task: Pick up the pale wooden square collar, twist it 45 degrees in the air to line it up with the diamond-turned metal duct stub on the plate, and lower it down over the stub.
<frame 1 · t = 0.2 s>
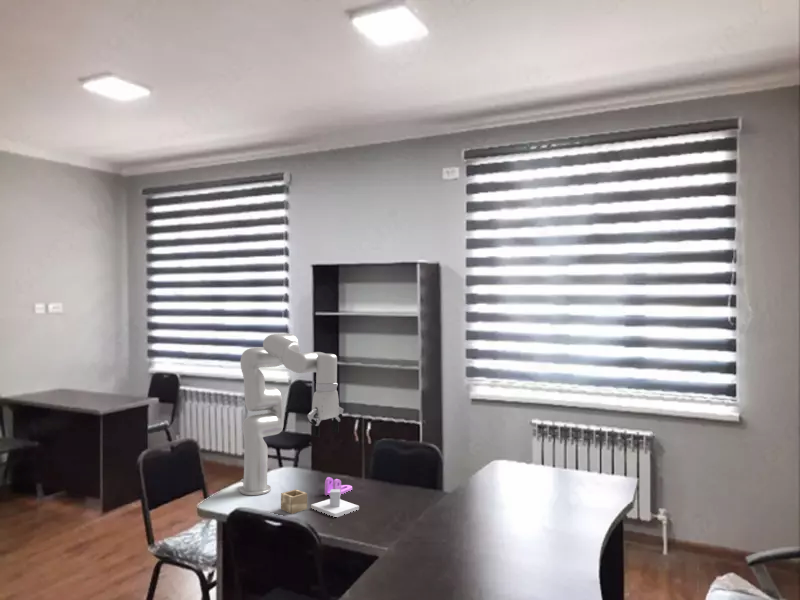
hand: (325, 434, 207), 30 cm above the table, tool pointing down, fingers open, 9 cm apart
wooden collar: (293, 509, 215), on the table
bracket: (339, 493, 236), on the table
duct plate: (334, 509, 216), on the table
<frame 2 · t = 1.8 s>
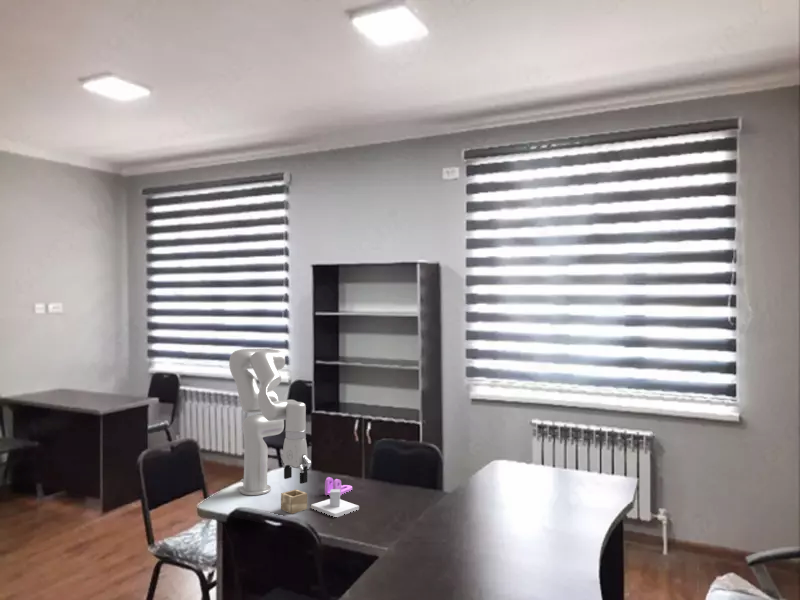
hand: (295, 480, 215), 11 cm above the table, tool pointing down, fingers open, 9 cm apart
nothing on the table moved.
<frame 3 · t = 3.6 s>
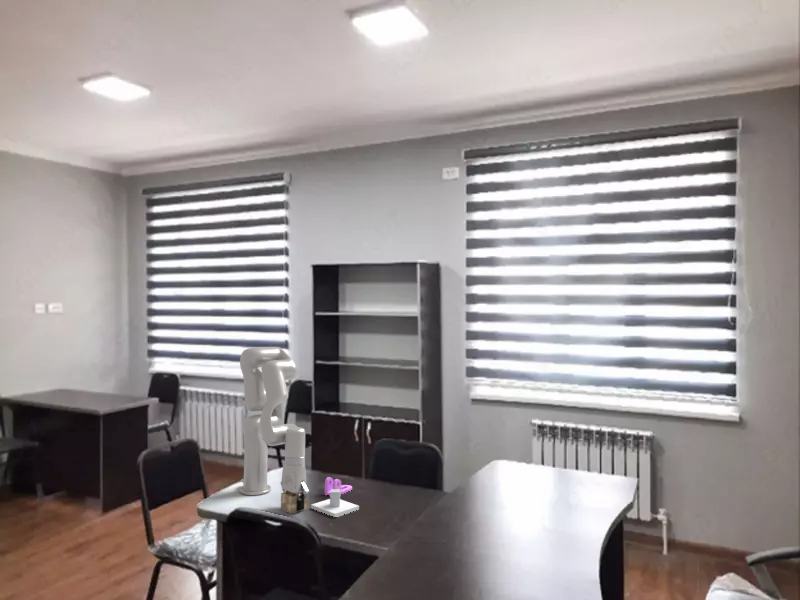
hand: (294, 507, 215), 1 cm above the table, tool pointing down, fingers closed on wooden collar, 7 cm apart
wooden collar: (293, 509, 215), on the table, touching gripper
everything else where it was.
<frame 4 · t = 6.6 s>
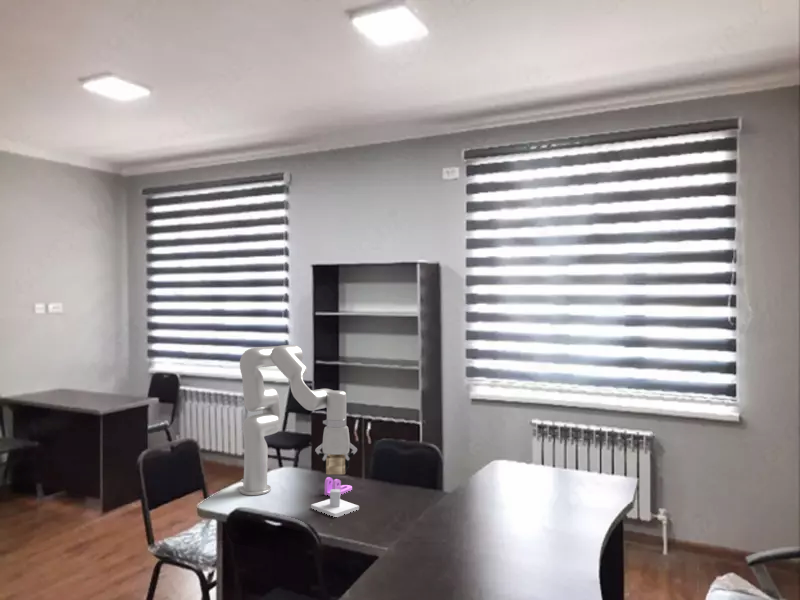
hand: (336, 469, 216), 15 cm above the table, tool pointing down, fingers closed on wooden collar, 7 cm apart
wooden collar: (336, 471, 216), point 14 cm above the table, touching gripper
everything else where it was.
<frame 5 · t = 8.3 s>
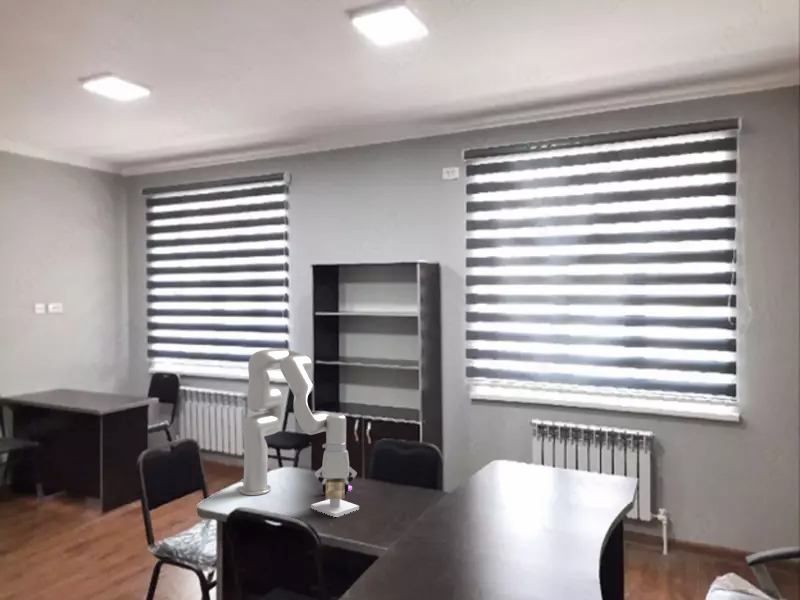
hand: (335, 493, 216), 6 cm above the table, tool pointing down, fingers closed on wooden collar, 7 cm apart
wooden collar: (335, 495, 216), point 5 cm above the table, touching gripper
everything else where it was.
when the fingers open (4 cm above the table, at t = 9.8 s): wooden collar drops 1 cm, resting on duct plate.
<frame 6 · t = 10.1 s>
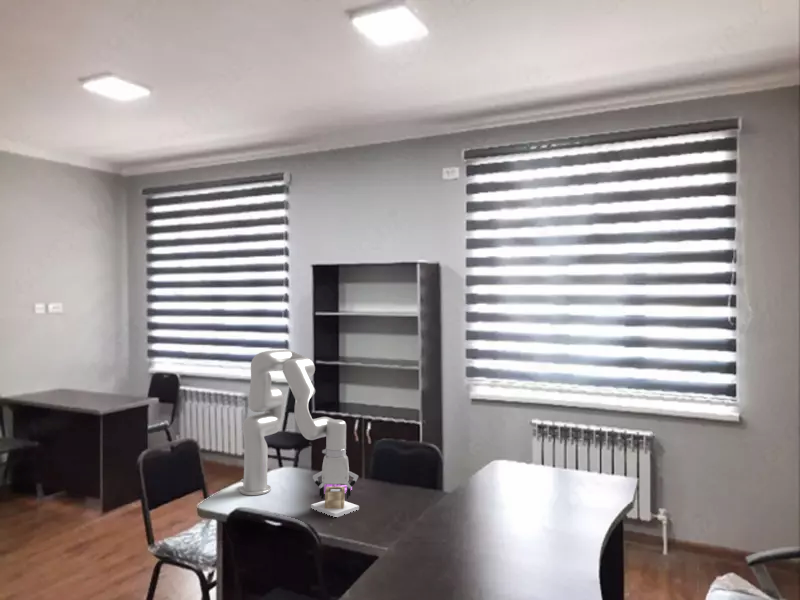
hand: (335, 497, 216), 4 cm above the table, tool pointing down, fingers open, 9 cm apart
wooden collar: (334, 505, 216), point 1 cm above the table, touching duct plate
everything else where it was.
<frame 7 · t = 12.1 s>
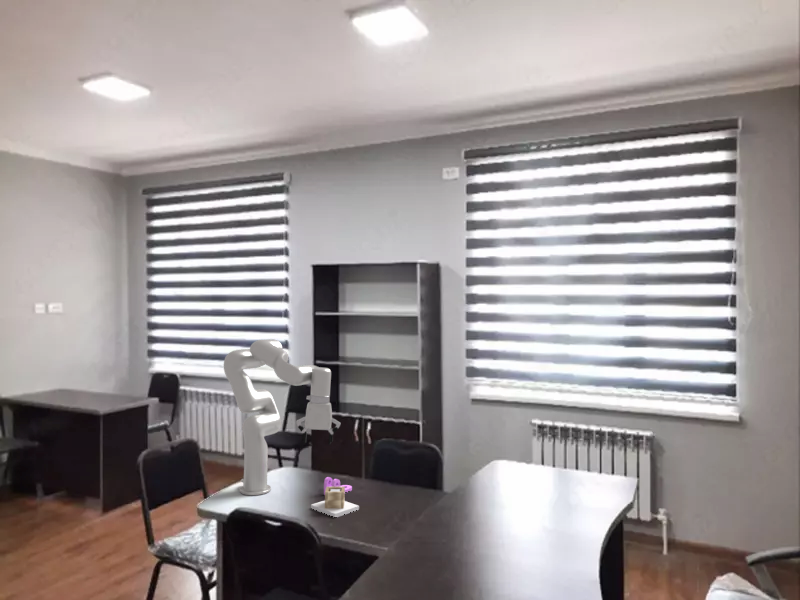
hand: (317, 443, 221), 24 cm above the table, tool pointing down, fingers open, 9 cm apart
nothing on the table moved.
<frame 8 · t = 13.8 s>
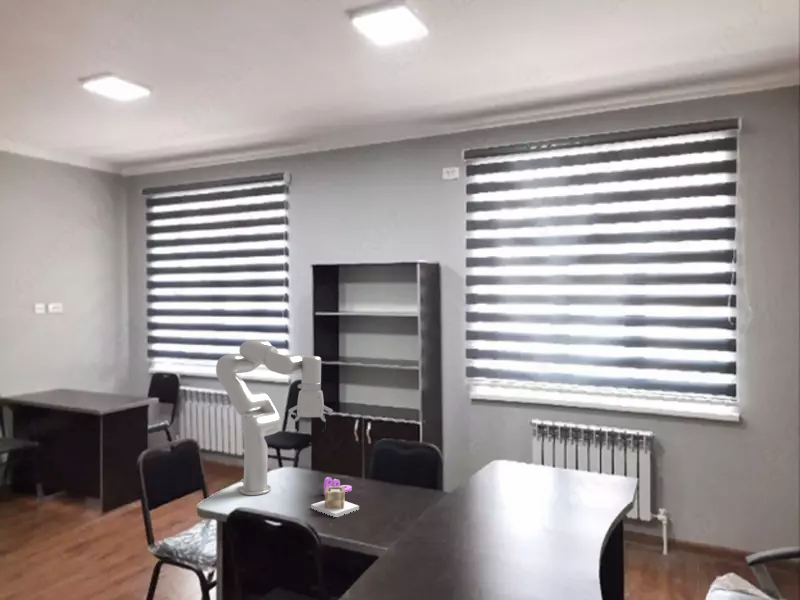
hand: (310, 431, 222), 28 cm above the table, tool pointing down, fingers open, 9 cm apart
nothing on the table moved.
at the end: wooden collar 0.1 cm off-centre on the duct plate, point 1.5 cm above the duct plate's base; the gripper is holding nothing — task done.
